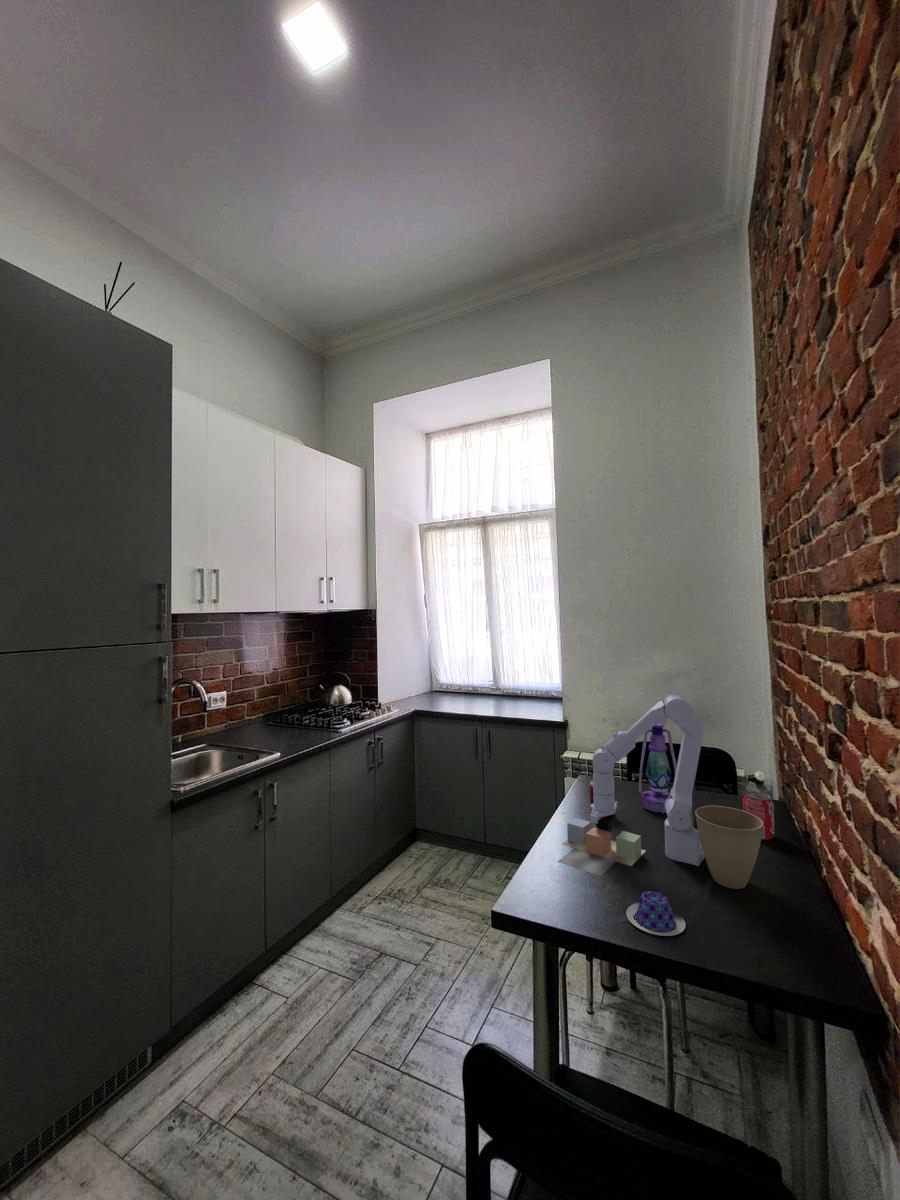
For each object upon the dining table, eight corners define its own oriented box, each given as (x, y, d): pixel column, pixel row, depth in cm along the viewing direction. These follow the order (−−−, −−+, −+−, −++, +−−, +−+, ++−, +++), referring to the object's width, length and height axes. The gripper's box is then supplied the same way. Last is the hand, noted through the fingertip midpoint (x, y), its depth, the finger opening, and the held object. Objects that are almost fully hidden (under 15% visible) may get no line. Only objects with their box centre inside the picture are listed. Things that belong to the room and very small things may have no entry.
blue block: (591, 839, 146) (590, 822, 146) (583, 845, 142) (583, 827, 142) (575, 834, 149) (575, 817, 149) (567, 840, 145) (567, 823, 146)
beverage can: (765, 830, 153) (764, 791, 153) (780, 842, 145) (779, 800, 145) (738, 829, 154) (737, 790, 154) (751, 841, 146) (750, 800, 146)
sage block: (641, 854, 137) (640, 835, 137) (634, 861, 133) (634, 842, 133) (623, 848, 140) (623, 830, 140) (616, 855, 136) (616, 837, 136)
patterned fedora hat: (614, 914, 112) (614, 890, 112) (653, 900, 117) (653, 877, 117) (657, 946, 101) (656, 919, 101) (698, 929, 106) (697, 904, 106)
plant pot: (729, 902, 115) (727, 832, 116) (683, 871, 129) (682, 809, 130) (780, 892, 119) (778, 824, 120) (730, 862, 133) (728, 802, 134)
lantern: (645, 815, 166) (643, 724, 167) (634, 802, 177) (632, 717, 178) (686, 815, 165) (683, 724, 166) (671, 802, 177) (669, 717, 178)
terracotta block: (611, 850, 139) (610, 832, 139) (603, 857, 135) (603, 838, 135) (594, 845, 142) (593, 827, 142) (586, 851, 138) (586, 833, 139)
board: (646, 854, 139) (645, 850, 139) (616, 885, 123) (616, 881, 123) (579, 834, 152) (579, 831, 152) (544, 860, 136) (544, 856, 136)
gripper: (601, 782, 150) (602, 828, 150) (579, 796, 139) (580, 845, 139) (624, 787, 146) (625, 834, 145) (603, 802, 135) (604, 853, 134)
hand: (604, 840), depth 142 cm, fingers closed
